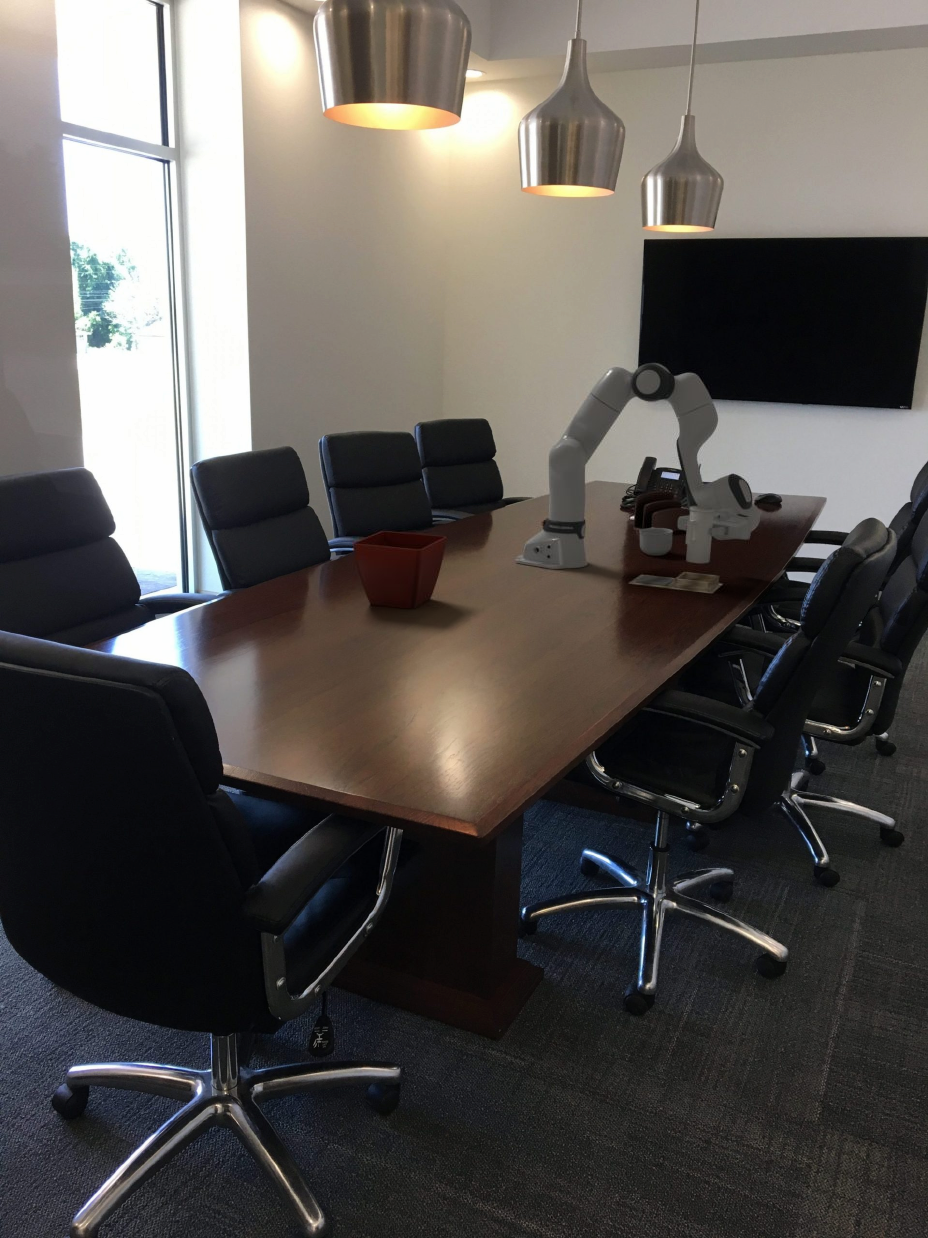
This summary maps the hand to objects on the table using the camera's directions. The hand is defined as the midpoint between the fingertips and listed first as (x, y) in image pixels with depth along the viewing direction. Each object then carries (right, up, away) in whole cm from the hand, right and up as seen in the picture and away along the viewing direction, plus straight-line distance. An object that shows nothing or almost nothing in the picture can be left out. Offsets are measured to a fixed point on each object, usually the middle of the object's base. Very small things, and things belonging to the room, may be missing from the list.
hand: (698, 529), depth 279 cm
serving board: (-5, -16, +8) cm, 18 cm away
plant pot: (-82, -21, -13) cm, 86 cm away
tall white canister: (-1, -9, +2) cm, 9 cm away
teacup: (-2, -3, +56) cm, 56 cm away
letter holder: (+9, +8, +99) cm, 100 cm away
